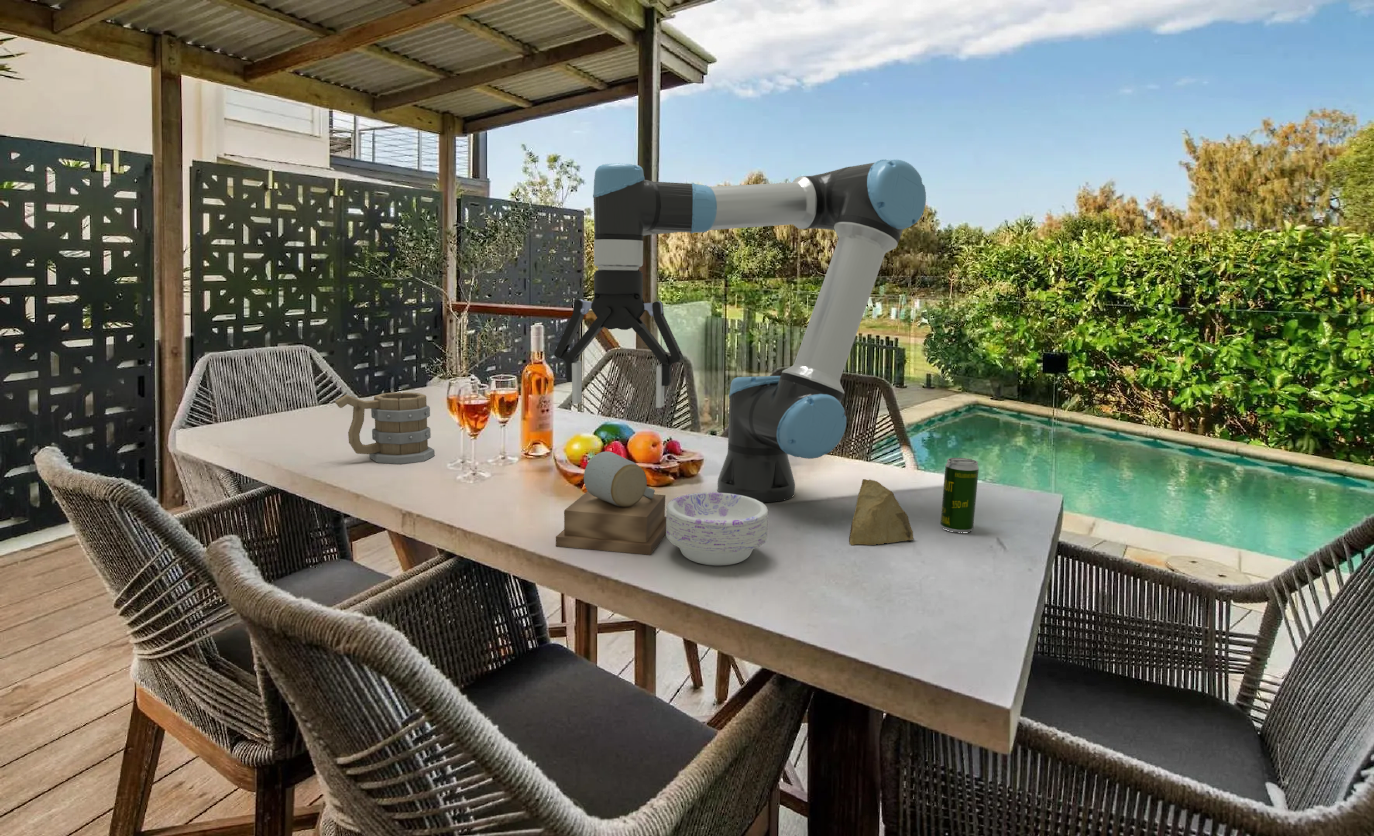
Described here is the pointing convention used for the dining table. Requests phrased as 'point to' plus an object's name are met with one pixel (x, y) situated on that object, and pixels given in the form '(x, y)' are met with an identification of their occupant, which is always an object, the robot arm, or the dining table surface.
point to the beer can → (959, 494)
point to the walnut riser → (614, 525)
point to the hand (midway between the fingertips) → (618, 404)
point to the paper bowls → (716, 527)
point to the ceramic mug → (616, 480)
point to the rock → (878, 517)
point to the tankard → (392, 427)
